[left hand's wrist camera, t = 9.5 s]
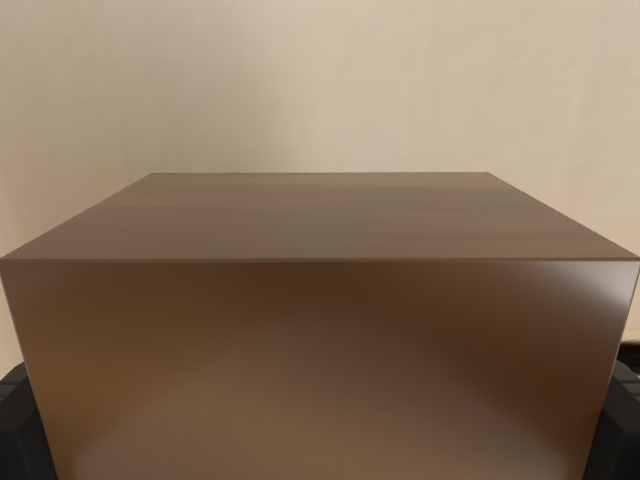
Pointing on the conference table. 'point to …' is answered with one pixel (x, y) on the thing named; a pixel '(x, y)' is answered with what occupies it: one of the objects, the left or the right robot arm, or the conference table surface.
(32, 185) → the conference table surface
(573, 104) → the conference table surface
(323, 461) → the slab
